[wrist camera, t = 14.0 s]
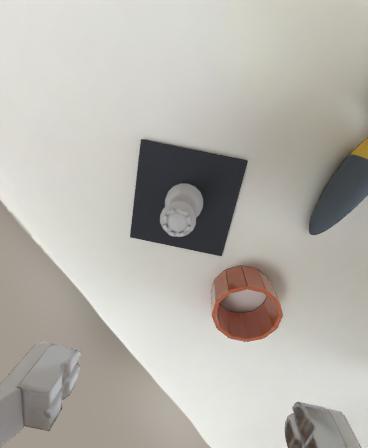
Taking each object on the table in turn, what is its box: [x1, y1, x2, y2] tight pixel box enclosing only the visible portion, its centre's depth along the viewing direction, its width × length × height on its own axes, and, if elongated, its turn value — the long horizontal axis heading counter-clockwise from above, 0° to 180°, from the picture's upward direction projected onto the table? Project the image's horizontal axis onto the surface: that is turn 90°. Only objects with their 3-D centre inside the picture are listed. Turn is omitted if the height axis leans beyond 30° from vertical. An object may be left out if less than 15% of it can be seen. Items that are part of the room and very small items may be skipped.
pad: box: [130, 140, 248, 256], centre depth 27 cm, size 12×12×1 cm
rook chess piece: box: [160, 184, 203, 237], centre depth 23 cm, size 4×4×8 cm
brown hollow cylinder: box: [211, 266, 283, 342], centre depth 29 cm, size 8×8×4 cm
